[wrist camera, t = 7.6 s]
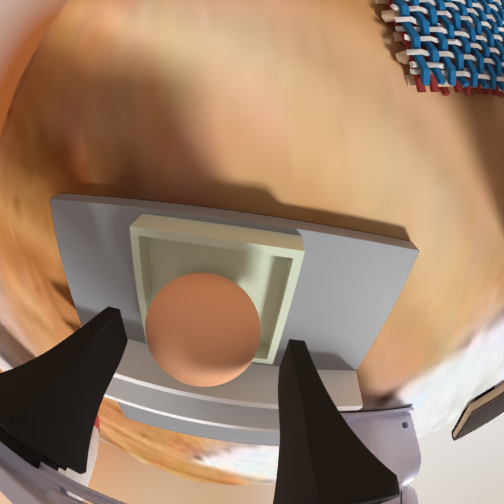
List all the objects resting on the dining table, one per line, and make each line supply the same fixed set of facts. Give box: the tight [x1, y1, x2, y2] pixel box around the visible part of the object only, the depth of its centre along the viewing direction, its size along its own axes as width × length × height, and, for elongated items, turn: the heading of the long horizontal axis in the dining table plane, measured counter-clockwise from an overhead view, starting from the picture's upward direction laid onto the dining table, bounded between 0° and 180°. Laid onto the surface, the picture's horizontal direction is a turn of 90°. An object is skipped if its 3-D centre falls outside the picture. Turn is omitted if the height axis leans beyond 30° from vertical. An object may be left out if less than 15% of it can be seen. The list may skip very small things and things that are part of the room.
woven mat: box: [373, 0, 504, 97], centre depth 5 cm, size 10×11×2 cm
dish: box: [130, 214, 305, 364], centre depth 13 cm, size 7×7×1 cm
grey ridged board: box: [50, 193, 419, 446], centre depth 17 cm, size 20×26×4 cm
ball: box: [145, 272, 261, 387], centre depth 11 cm, size 5×5×5 cm
